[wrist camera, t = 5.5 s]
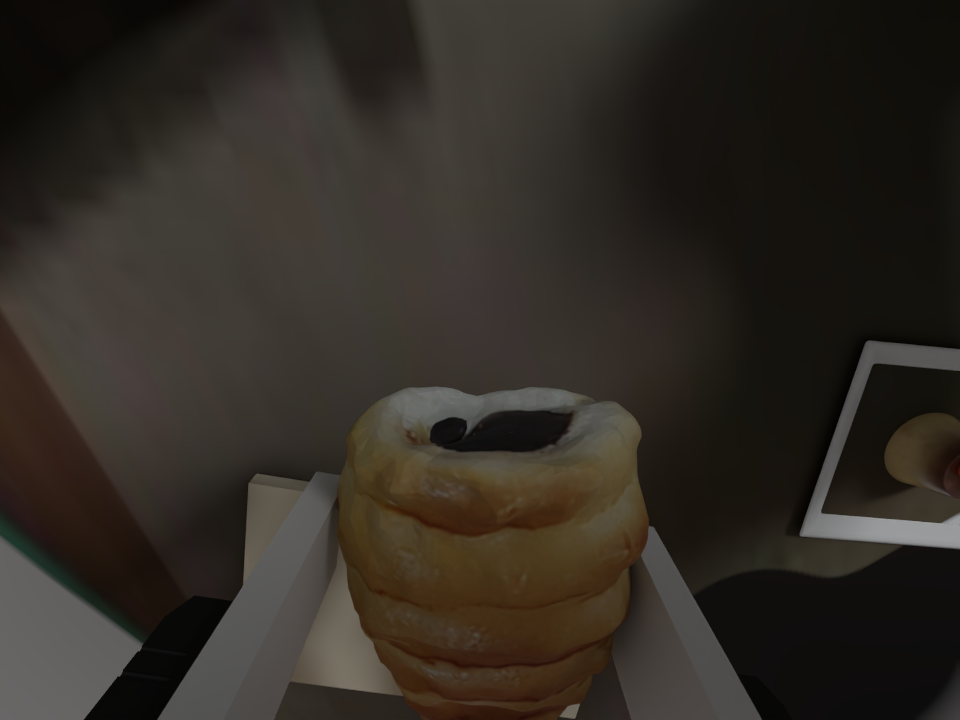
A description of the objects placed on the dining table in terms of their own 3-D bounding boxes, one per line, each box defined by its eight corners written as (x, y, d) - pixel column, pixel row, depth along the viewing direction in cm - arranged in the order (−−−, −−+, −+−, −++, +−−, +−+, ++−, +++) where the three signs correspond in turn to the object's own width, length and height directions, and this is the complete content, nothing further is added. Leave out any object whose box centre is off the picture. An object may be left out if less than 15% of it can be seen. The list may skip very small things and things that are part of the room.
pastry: (602, 675, 14) (645, 841, 10) (374, 675, 14) (334, 840, 10) (628, 372, 11) (699, 451, 7) (342, 375, 11) (272, 454, 7)
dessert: (850, 335, 25) (934, 360, 21) (1060, 355, 26) (1188, 384, 21) (786, 524, 29) (846, 583, 24) (973, 539, 29) (1066, 599, 24)
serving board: (628, 532, 28) (634, 543, 27) (572, 703, 32) (575, 718, 31) (256, 473, 27) (248, 483, 26) (245, 660, 30) (238, 674, 30)
